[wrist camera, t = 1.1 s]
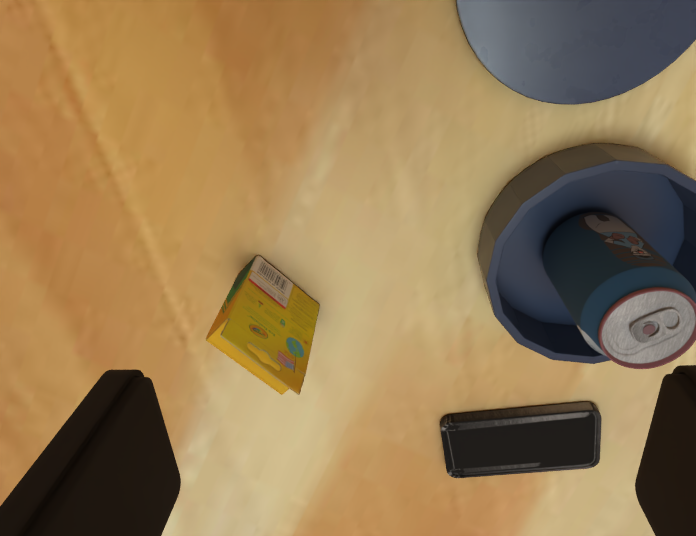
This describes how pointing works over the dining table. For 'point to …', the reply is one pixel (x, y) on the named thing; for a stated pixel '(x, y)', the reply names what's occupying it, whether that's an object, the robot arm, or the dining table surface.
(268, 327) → the crayon box
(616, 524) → the dining table surface
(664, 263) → the soda can
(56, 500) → the robot arm
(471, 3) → the lid
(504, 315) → the pot
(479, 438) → the phone
